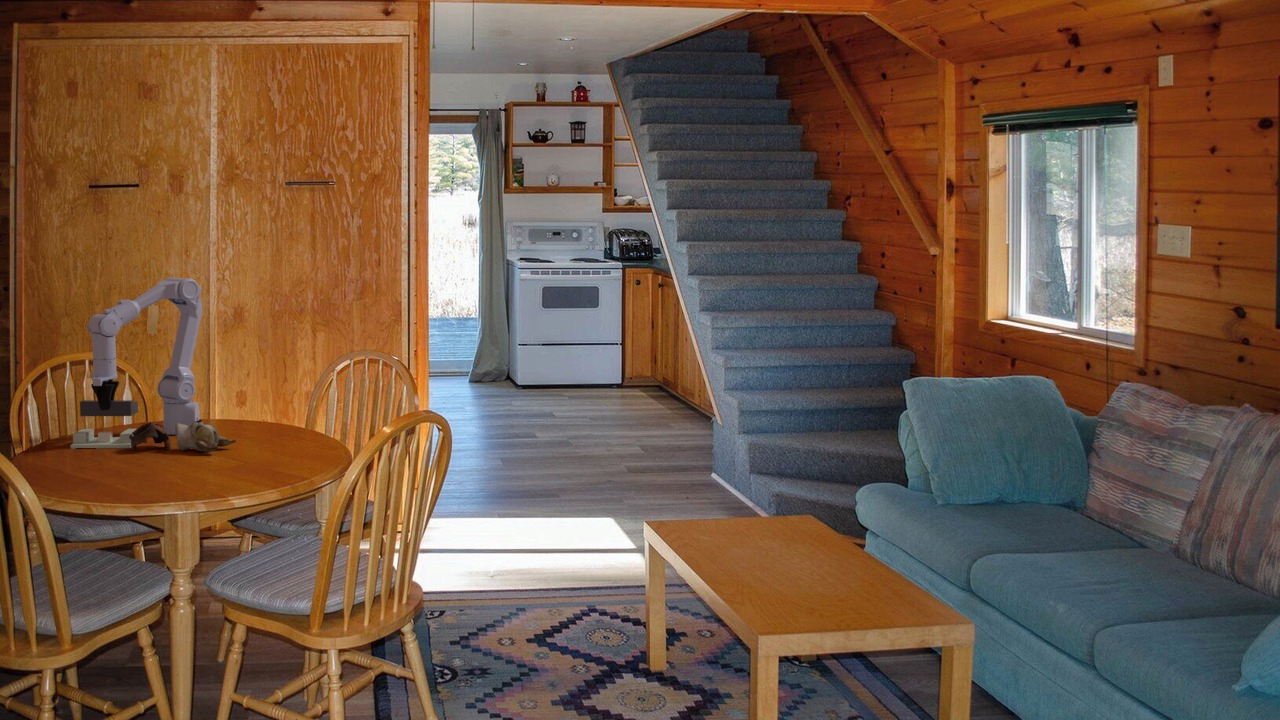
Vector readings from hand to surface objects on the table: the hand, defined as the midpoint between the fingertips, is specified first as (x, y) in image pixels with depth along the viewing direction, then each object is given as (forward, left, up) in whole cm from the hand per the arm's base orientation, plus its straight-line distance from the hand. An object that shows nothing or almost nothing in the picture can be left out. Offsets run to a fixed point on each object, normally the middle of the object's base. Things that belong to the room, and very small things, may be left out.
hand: (106, 409), depth 332 cm
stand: (0, +2, -10) cm, 10 cm away
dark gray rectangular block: (0, -3, -2) cm, 3 cm away
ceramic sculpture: (-27, +11, -10) cm, 31 cm away
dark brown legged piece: (-14, +8, -10) cm, 19 cm away
